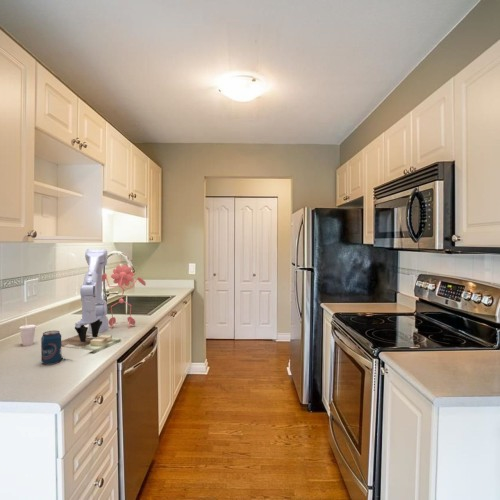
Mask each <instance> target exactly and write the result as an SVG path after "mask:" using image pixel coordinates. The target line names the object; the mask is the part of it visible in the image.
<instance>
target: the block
mask: <svg viewBox="0 0 500 500" xmlns="http://www.w3.org/2000/svg"><path fill="white" fill-rule="evenodd" d="M94 338H95V339H93V340H90V346H98V347H101V346H103V345H105V344H107V343H109V342H110V341H112V338H113V335H111V334H101V335H99V337H94Z"/></svg>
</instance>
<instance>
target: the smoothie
mask: <svg viewBox="0 0 500 500" xmlns="http://www.w3.org/2000/svg"><path fill="white" fill-rule="evenodd" d="M36 329H37V325H36V324H28V316H25V325H22V326H19V331H20V337H21V343H22V347H23V346H24V347H28V346H32V345H33V344H34V340H35V332H36Z"/></svg>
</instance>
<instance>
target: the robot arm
mask: <svg viewBox="0 0 500 500" xmlns="http://www.w3.org/2000/svg"><path fill="white" fill-rule="evenodd" d="M84 257H85V260H86V263H87V265H88V271H87V272H86V273H85V274H84V278H83V284H82V285H81V286H80V288H79V289H80V290H79V294H80V301H81V318H80V320H79V321H77V322H75V323H74V325H75V326H74V330H75V331H76V332H77V335H79V338H80V341H81V342H85V341H86V335H87V331H88V333H89V334H91V338H97V336H98V335H99V333H103V332H105V331H109V318H108V316H107V315H108V303H107V301H106V299H104V298H102V294H103V293H102V289H103V288H102V285H103V282H102V275H103V271H104V267H105V266H107V265H108V250H107V249H106V248H104V249H102V248H101V249H96V248H94V249H93V248H91V249H89V248H88V249H86V250H85V255H84ZM86 325H88V326H87V327H86Z"/></svg>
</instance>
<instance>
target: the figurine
mask: <svg viewBox="0 0 500 500" xmlns="http://www.w3.org/2000/svg"><path fill="white" fill-rule="evenodd" d="M132 270H133V267H132V266H128V265H127V264H123V265H122V266H121V265H120V264H117V265H116V268H113V269H112V274H111V275H110V278H112V279H113V283H114V284H117V285H111V286H110V284H109V279H108V275H107V273H105V272H104V273H102V283H103V282H104V281H106V282H107V285H108V287H109V288H116V287H119V288H121V289H122V294H121V297H120V299H118V301H117V302H116V303H114V304H112V305H111V306H110V312H111V317H110V318H109V319H108V326H110V328H111V330H112V329H113V326H114V325H115V324H116V323H117V322H116V321H117V319H116V317H114V316H113V308H112V307H114V306H116V305H117V304H123V303H125V304H127V305H128V306H130V311H129V316H128V317H127V322H129V323H128V327H127V328H128V329H130V324H131V325H132V326H135V325H136V320H135V318H133V317H132V316H131V315H132V314H131V313H132V312H131V311H132V305H131V304H130V303H128V302H126V301H125V300H124V299H123V297H124V292H125V289H129V290H131V289H132V287H133V286H134V284H136V282H137V281H138V282H139V283H140V284H141V285H143V286H146V283H147V282H146V281H145V280H144V279H143V278H142V277H139V276H137V278H136V279H135V281H134V276H135V273H134V272H133V271H132ZM130 282H133V283H132V284H131V285H130ZM124 285H125V286H124ZM128 286H130V287H128ZM123 323H126V322H125V321H122V322H121V324H123Z"/></svg>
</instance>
